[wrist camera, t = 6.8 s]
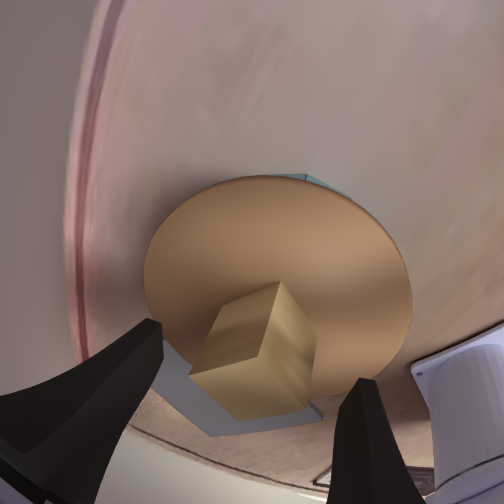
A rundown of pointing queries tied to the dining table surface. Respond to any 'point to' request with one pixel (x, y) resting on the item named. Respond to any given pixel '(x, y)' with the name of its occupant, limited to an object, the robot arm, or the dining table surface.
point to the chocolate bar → (420, 475)
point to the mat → (213, 402)
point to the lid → (277, 293)
